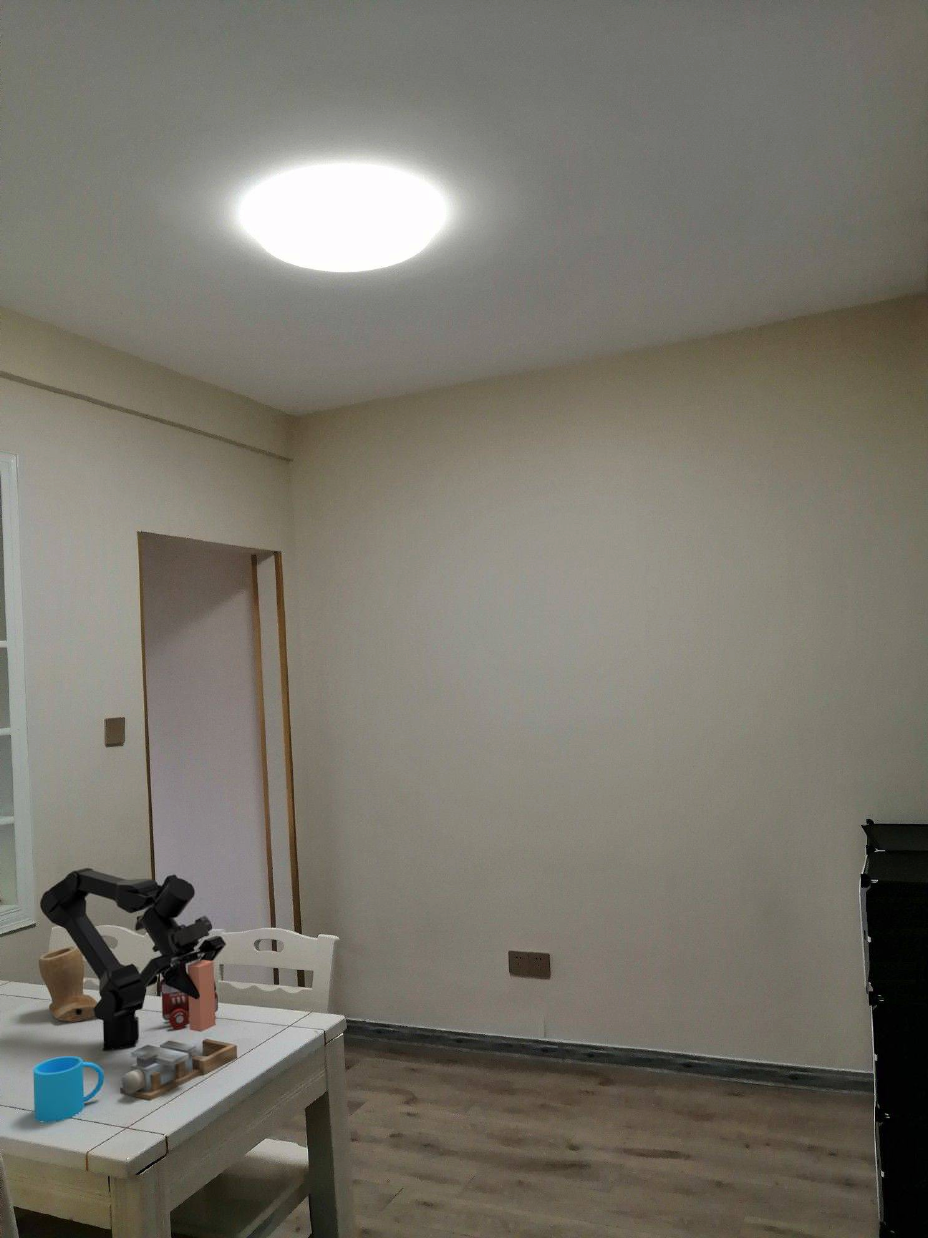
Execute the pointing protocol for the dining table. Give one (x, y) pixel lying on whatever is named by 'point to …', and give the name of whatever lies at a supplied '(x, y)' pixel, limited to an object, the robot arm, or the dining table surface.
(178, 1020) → the toy fire truck
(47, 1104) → the mug
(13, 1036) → the dining table surface
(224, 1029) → the dining table surface
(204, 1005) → the salmon pink box
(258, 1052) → the dining table surface
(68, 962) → the tan hollow boot shape
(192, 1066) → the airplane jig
